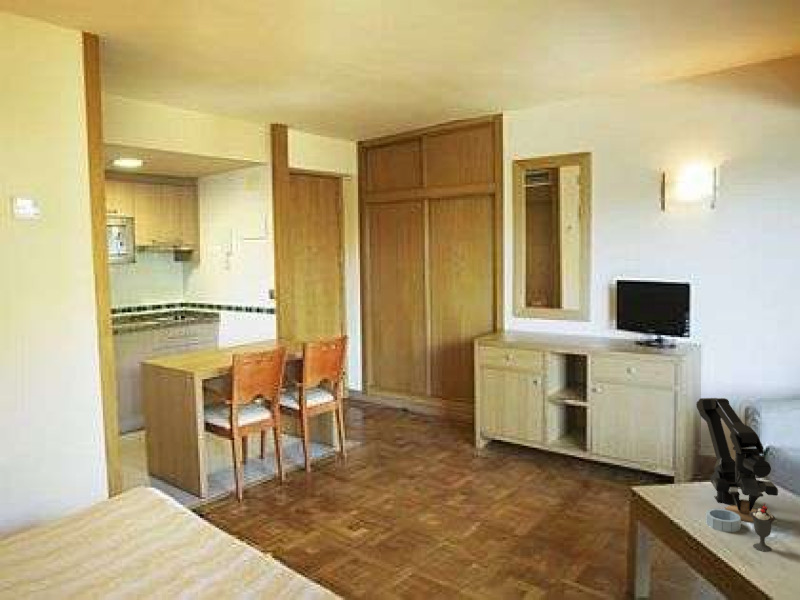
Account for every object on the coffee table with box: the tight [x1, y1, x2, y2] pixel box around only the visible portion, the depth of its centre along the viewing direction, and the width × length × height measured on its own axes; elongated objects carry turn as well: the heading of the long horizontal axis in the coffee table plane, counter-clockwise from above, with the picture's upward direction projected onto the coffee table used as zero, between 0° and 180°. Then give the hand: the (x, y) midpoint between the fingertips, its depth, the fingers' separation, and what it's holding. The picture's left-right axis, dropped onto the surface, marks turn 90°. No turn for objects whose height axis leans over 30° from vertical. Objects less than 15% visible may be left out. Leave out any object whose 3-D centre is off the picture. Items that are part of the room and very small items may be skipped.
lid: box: [724, 498, 758, 523], centre depth 201 cm, size 12×12×5 cm
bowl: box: [705, 508, 742, 533], centre depth 194 cm, size 10×10×4 cm
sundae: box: [750, 502, 776, 553], centre depth 179 cm, size 7×7×15 cm
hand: (744, 510), depth 201 cm, fingers closed on lid, 3 cm apart
